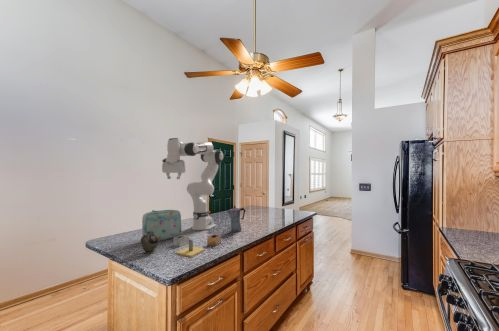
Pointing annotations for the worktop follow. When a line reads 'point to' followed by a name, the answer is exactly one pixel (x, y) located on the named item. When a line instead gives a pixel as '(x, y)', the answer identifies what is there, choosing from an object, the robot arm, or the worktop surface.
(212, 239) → the brown rounded piece
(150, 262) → the worktop surface
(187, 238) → the link
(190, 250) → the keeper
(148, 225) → the lunch box
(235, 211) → the moka pot
